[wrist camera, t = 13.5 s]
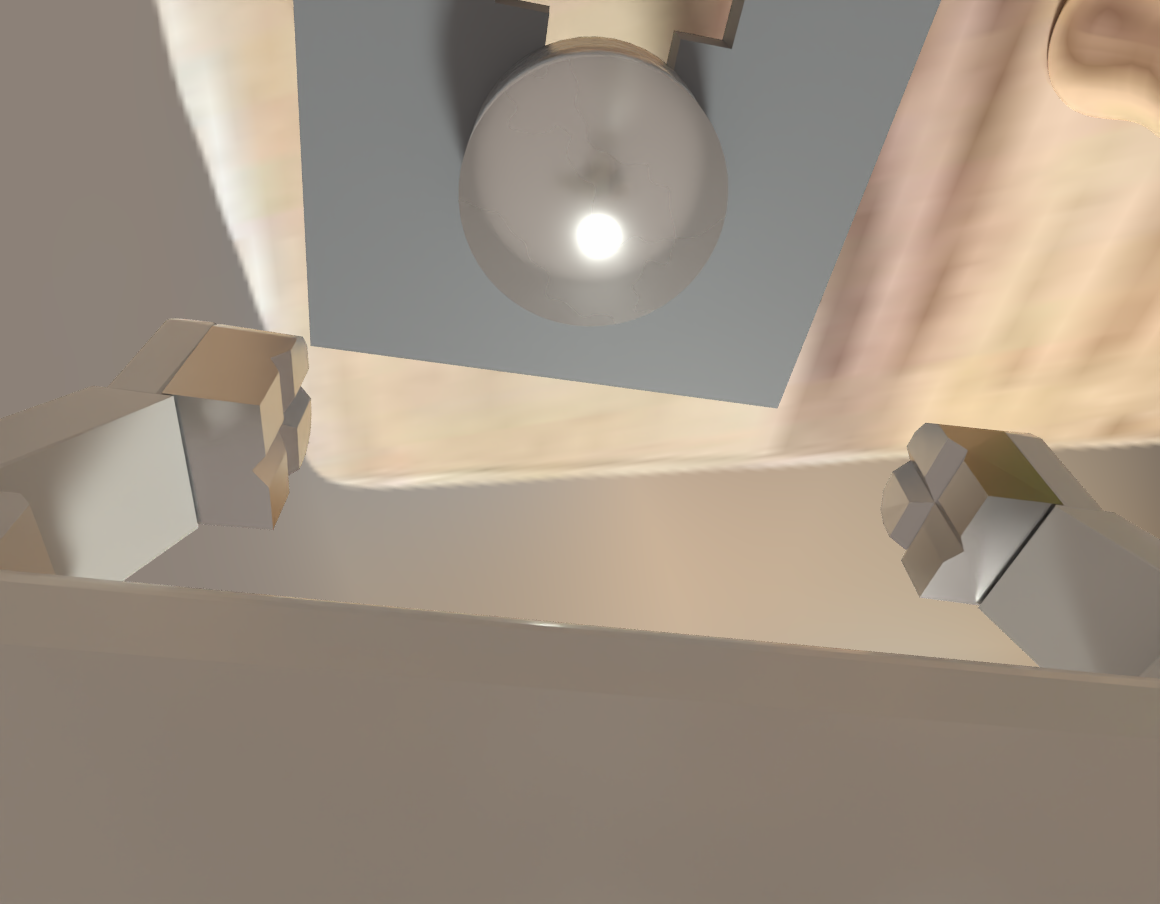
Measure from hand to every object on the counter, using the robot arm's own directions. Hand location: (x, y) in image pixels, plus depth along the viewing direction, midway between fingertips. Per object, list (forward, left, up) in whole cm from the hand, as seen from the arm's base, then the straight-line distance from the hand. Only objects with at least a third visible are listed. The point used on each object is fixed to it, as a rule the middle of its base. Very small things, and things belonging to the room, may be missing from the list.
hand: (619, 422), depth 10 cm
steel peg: (0, 0, -16) cm, 16 cm away
